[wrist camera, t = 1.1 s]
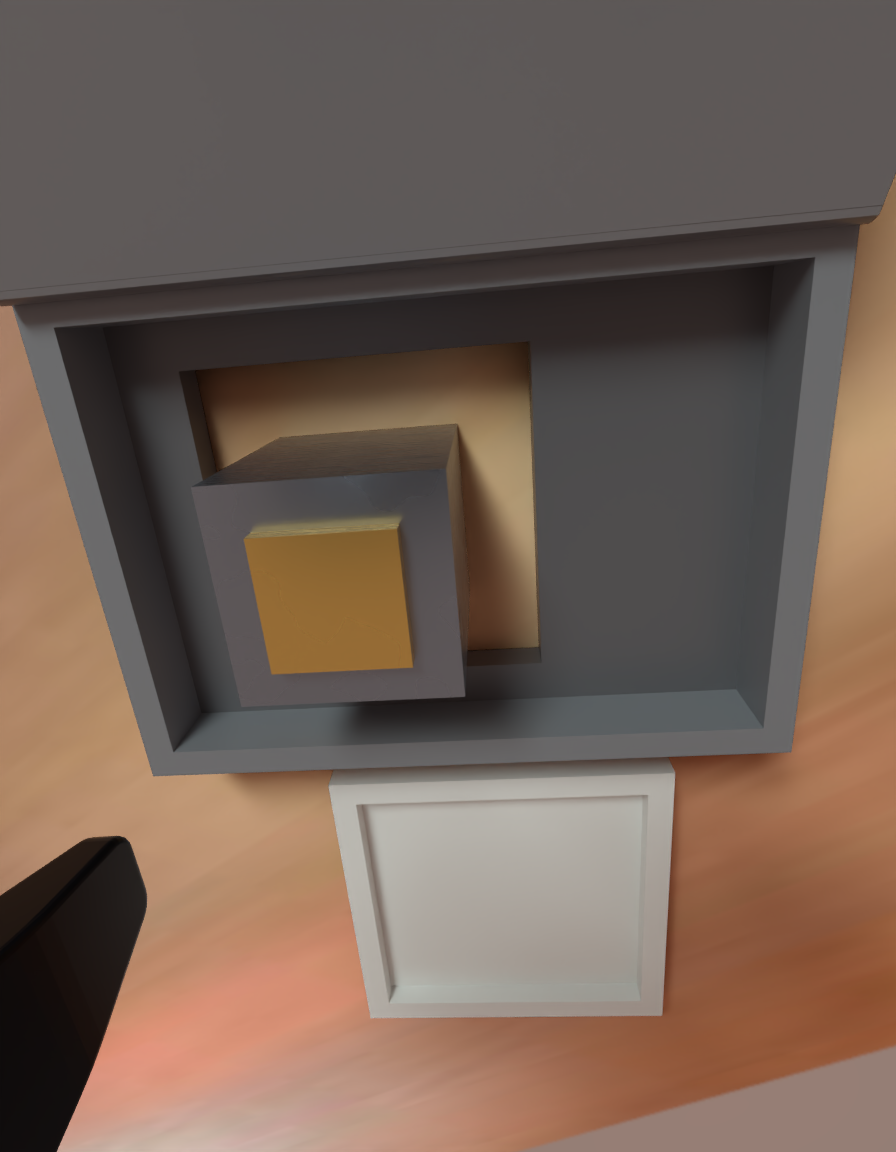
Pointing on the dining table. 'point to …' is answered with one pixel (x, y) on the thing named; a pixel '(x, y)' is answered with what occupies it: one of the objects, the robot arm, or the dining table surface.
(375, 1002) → the tray
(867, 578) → the dining table surface
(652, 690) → the case
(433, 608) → the module
